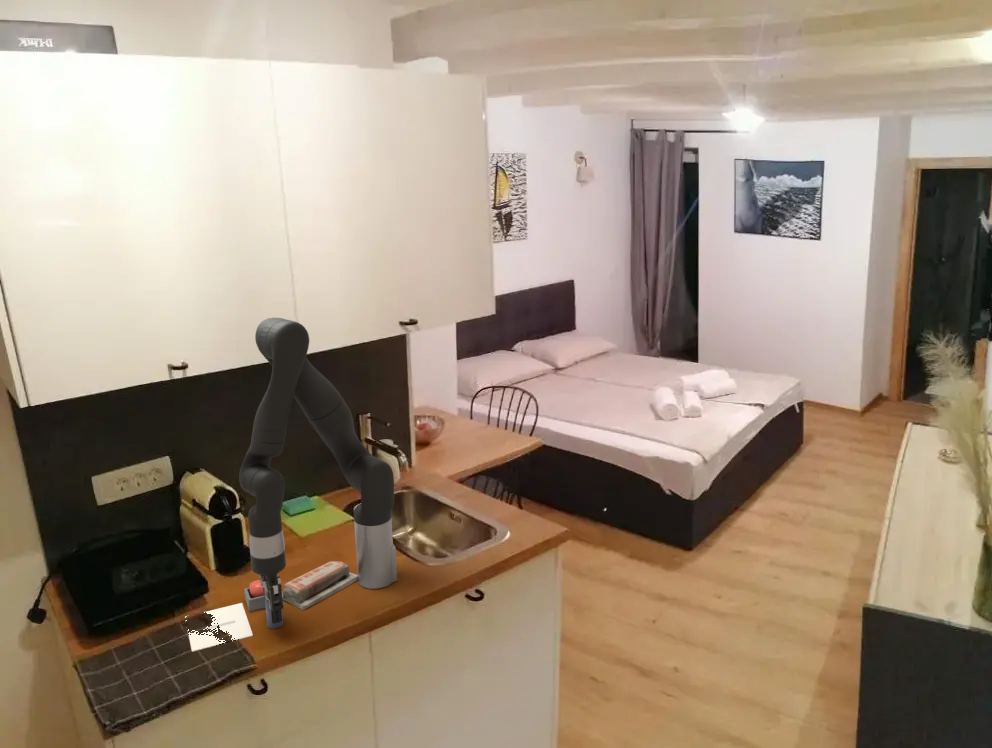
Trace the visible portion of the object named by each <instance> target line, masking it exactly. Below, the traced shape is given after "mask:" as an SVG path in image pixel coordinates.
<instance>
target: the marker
mask: <svg viewBox="0 0 992 748" xmlns="http://www.w3.org/2000/svg"><path fill="white" fill-rule="evenodd" d="M268 594H269V595H270V593H268ZM264 597H265V607H266V608H265V615H266V625H267V628H270V629H277V628H280V627H283V625H284V613H283V609H281V614H282V621H281V622H279V623H275V624H273V623H272V621H271V610H270V607H269V606H270V604H269V600H267V599H266V595H265V590H264ZM274 603H278V600H277V601H274Z"/></svg>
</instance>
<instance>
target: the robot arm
mask: <svg viewBox="0 0 992 748" xmlns="http://www.w3.org/2000/svg"><path fill="white" fill-rule="evenodd" d="M254 337H255V338H254V339H255V343H256V347H257V349H258V351H259V353H260V354H261V355H262V356H263V357H264V359H265V360H266V361H267V362H268V363H269V364H270V366H272V367H271V369H272V371H271V376H270V379H269V380H270V381H269V383H268V387H267V389H266V391H265V394H264V396H263V397H262V400H261V401H260V403H259V405H258V408H257V410H256V413H255V416H254V421H253V426H252V433H251V438H250V439H251V441H250V445H249V448H248V450H247V451H246V453H245V455H244V459H243V462H242V464H241V467H240V470H239V474H238V481H239V485H240V487H241V489H242V491H244V492H245V493H247V494H249V495H251V496H253V497H255V499H256V501H255V502H256V504H254V505H253V506H251V507H250V509H249V510H248V515H247V516H248V518H247V519H248V529H249V530H248V531H249V543H248V544H249V553H250V564H251V570H252V572H253V573H254V574H256V575H259V580H260V583H261V586H262V589H263V592H264V590H265V595H266V599H267V600H269V604H270V606H269V607H270V610H271V621H272V623H273V624H275V623H279V622H281V621H282V614H281V609H282V610H283V609H284V600H282V592H283V590H282V587H283V586H282V584H281V582H282V580H281V577H280V575H279V573H280V572H282V571H283V570H284V569H285V568H286V565H287V559H286V558H287V557H286V545H285V536H284V532H283V524H282V522H283V521H282V515H281V514H282V513H281V512H282V509H283V504H284V498H285V491H286V485H285V481H284V477H283V475H282V474H281V472H280V471H278V470H277V469H274V468H273V467H270V464H271V461H272V459H273V457H278V456H281V454H282V453H283V450H284V446H285V442H286V441H285V440H286V435H287V428H288V423H289V422H288V421H289V416H290V415H289V414H290V412H291V411H290V410H291V408H292V407H291V406H292V402H293V399H295V401H296V402H297V404H298V405H299V407H300V409H301V410H302V412H303V414H304V415H305V416H306V418H307V420H308V422H309V423H310V425H311V426H312V427H313V429H314V430H315V431H316V433H317V434H318V436H319V437H320V438H321V440H322V442H323V443H324V444H325V445H326V446H327V448H328V449H329V451H331V453H332V454H333V456H334V458H335V459H336V461H337V464H338V465H339V467H340V469H341V471H342V473H343V475H344V478H345V480H346V481H347V483H348V484H349V486H351V487H352V488H353V489H355V490H356V491H358V492H360V503H359V504H358V505H357V506H355V507H354V509H353V523H354V537H355V538H354V540H355V552H356V569H357V574H356V575H358V580H357V583H358V585H360V586H361V587H362V588H365V589H371V590H372V589H373V590H375V589H382V588H385V587H388V586H390V585H391V584H393V582H397V581H398V572H397V571H398V569H397V552H396V551H397V550H396V545H395V544H394V543H393V523H392V511H393V509H394V505H395V479H394V478H395V477H394V471H393V468H392V467H391V465H390V464H389V463H388V462H387V461H384V460H382V459H380V458H378V457H377V456H374V455H373V454H371V452H369V450H368V449H367V448H366V447H365V446H364V444H363V442H361V440H360V439H359V437H358V435H357V433H356V429H355V423H354V418H353V417H354V416H353V414H352V412H351V410H350V408H349V406H348V404H347V403H346V401H345V400H344V398H343V397H342V395H341V393H340V392H339V391H338V389H336V387H335V385H333V383H331V381H329V380H328V379H327V378H326V377H325V375H323V374H322V373H321V372H320V371H319V370H318V369H317V368H315V367H314V365H313V364H312V363H311V362H310V361H309V359H308V358H307V354H308V350H309V346H310V336H309V332H308V330H307V329H306V327H305V326H304V325H303V324H301V323H300V322H297V321H294V320H290V319H285V318H282V317H270V318H269V317H268V318H266V319H263V320H262V321H260V323H259V324H258V325H257V328H256V331H255V336H254ZM268 593H270V595H269V594H268ZM277 600H278V603H274V601H277ZM264 603H265V597H264Z"/></svg>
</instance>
